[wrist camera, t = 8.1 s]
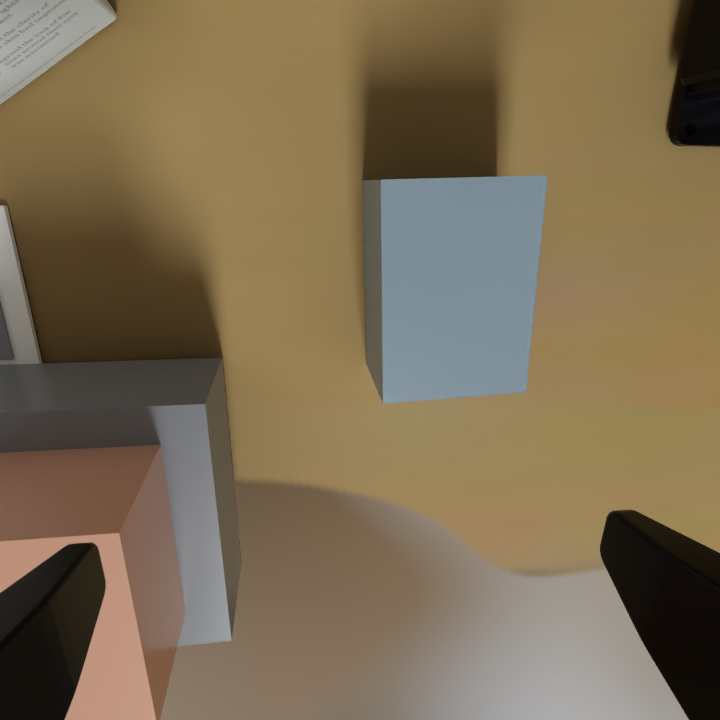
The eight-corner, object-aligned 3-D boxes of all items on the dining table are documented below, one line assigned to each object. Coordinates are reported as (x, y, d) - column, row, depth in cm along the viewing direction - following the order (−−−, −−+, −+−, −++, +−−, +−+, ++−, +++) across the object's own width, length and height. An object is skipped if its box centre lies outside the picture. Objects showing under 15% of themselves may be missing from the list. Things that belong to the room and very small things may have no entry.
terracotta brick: (160, 444, 15) (119, 533, 12) (185, 611, 18) (158, 728, 14) (-14, 453, 15) (-118, 550, 11) (37, 625, 17) (-33, 751, 13)
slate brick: (494, 176, 18) (547, 175, 14) (483, 354, 21) (525, 392, 17) (361, 180, 18) (380, 179, 14) (365, 362, 20) (382, 403, 16)
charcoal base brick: (222, 357, 19) (205, 404, 15) (241, 562, 22) (231, 640, 18) (-6, 364, 18) (-85, 416, 14) (53, 578, 21) (3, 664, 17)
